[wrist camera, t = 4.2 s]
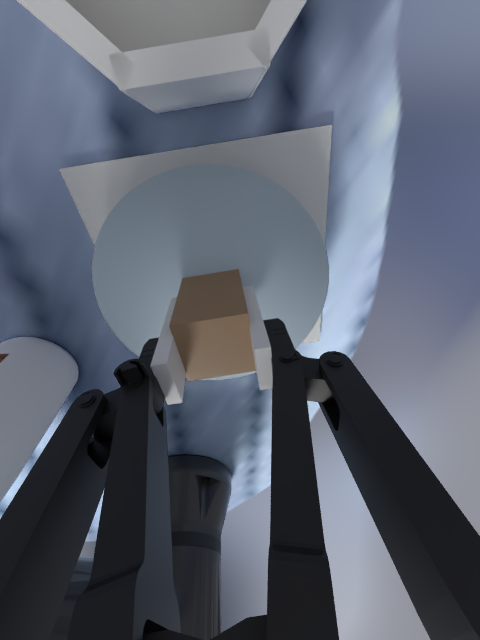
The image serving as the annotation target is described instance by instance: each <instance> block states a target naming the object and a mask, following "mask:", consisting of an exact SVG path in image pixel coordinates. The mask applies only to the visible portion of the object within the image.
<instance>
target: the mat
mask: <svg viewBox="0 0 480 640" xmlns="http://www.w3.org/2000/svg"><path fill="white" fill-rule="evenodd" d="M331 135H332V125H326V126H320V127H314V128H307V129H301V130H295V131H289V132H283V133H277V134H270V135H264V136H258V137H252V138H246V139H239V140H233V141H227V142H221V143H215V144H209V145H202V146H196V147H190V148H184V149H178V150H172V151H165V152H159V153H153V154H147V155H141V156H134V157H128V158H122V159H116V160H110V161H104V162H97V163H91V164H85V165H79V166H73V167H66V168H60V169H59V171H60V173H61V175H62V177H63V179H64V181H65V184H66V186H67V188H68V190H69V192H70V194H71V197H72V199H73V201H74V203H75V205H76V207H77V209H78V212H79V214H80V216H81V218H82V220H83V222H84V225H85V227H86V229H87V231H88V233H89V235H90V237H91V240H92V242H93V244H94V246H95V243H96V240H97V237H98V235H99V232H100V229H101V227H102V225H103V224H104V222H105V220H106V218H107V217H108V215H109V213H110V212H111V211H112V209H113V208H114V207H115V206H116V205H117V203H118V202H119V201H120V200H121V199H122V198H123V197H124V196H125V195H126V194H128V193H129V192H130V191H131V190H132V189H133V188H134V187H136V186H138V185H139V184H141V183H142V182H144V181H146V180H147V179H149V178H151V177H153V176H155V175H158V174H160V173H162V172H165V171H167V170H171V169H175V168H179V167H183V166H187V165H196V164H222V165H229V166H234V167H238V168H243V169H246V170H249V171H251V172H254V173H257V174H259V175H262V176H264V177H266V178H268V179H269V180H271V181H273V182H275V183H276V184H278V185H280V186H281V187H282V188H284V189H285V190H286V191H287V192H289V193H290V194H291V195H292V196H294V197H295V198H296V199H297V200H298V201H299V203H300V204H301V205H302V206H303V207H304V208H305V209H306V210H307V212H308V213H309V215H310V216H311V218H312V219H313V221H314V222H315V224H316V226H317V228H318V230H319V232H320V234H321V236H322V239H323V242H324V245H325V238H326V221H327V204H328V187H329V169H330V152H331ZM320 324H321V314H320V316H319V319H318V320H317V322H316V324H315V325H314V327H313V329H312V330H311V332H310V333H309V334H308V336H307V337H306V338H305V340H304V341H303V342H302V343H307V342H314V341H320Z"/></svg>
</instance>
